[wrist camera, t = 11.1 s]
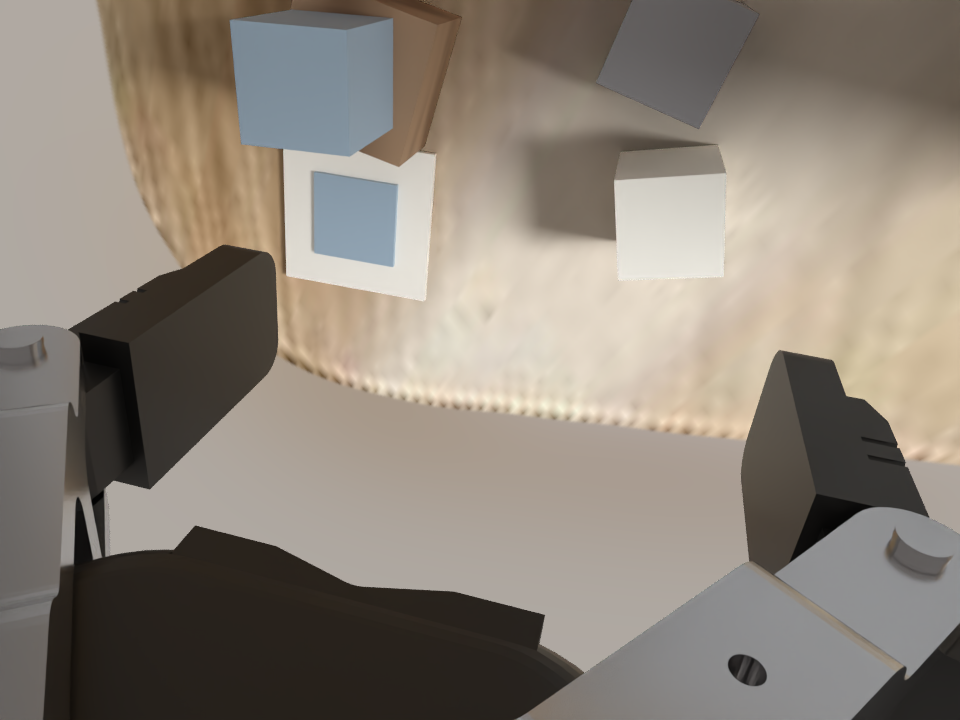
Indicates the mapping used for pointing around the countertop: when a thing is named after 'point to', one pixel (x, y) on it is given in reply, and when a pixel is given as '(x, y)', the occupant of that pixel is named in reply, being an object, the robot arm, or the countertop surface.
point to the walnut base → (405, 66)
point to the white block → (670, 213)
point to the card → (359, 221)
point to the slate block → (313, 80)
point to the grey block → (677, 54)
